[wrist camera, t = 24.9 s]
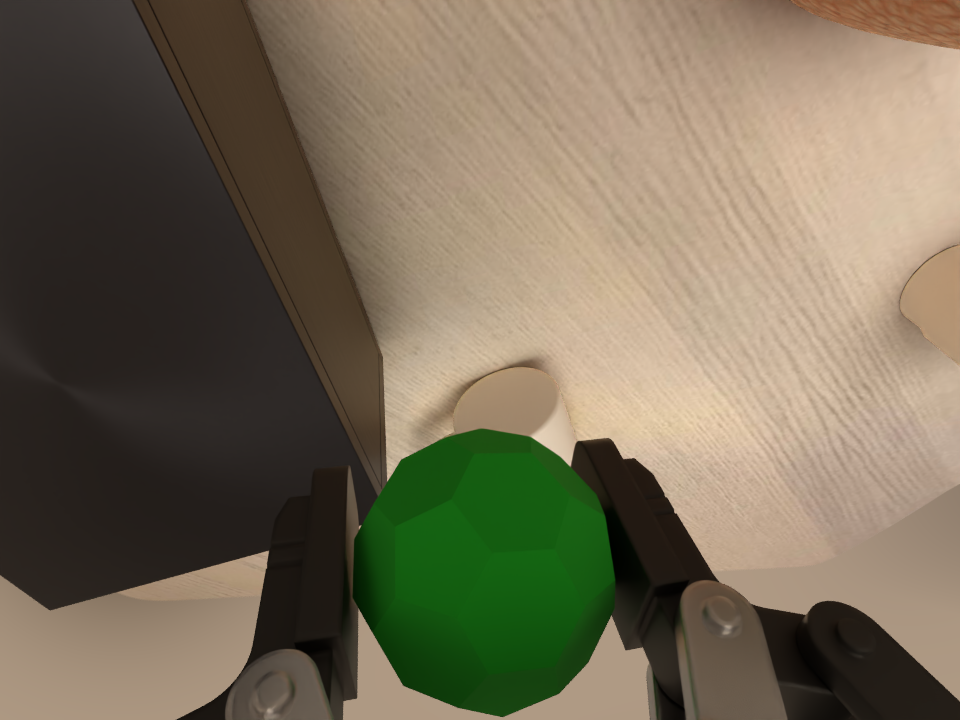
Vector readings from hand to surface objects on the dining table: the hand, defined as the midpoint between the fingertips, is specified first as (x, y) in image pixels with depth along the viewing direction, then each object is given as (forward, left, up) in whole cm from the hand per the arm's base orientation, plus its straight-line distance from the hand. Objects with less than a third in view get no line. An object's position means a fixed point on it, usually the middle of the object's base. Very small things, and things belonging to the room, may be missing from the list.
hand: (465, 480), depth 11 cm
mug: (+20, +1, -23) cm, 31 cm away
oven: (-1, -13, -23) cm, 26 cm away
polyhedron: (0, 0, -1) cm, 1 cm away
